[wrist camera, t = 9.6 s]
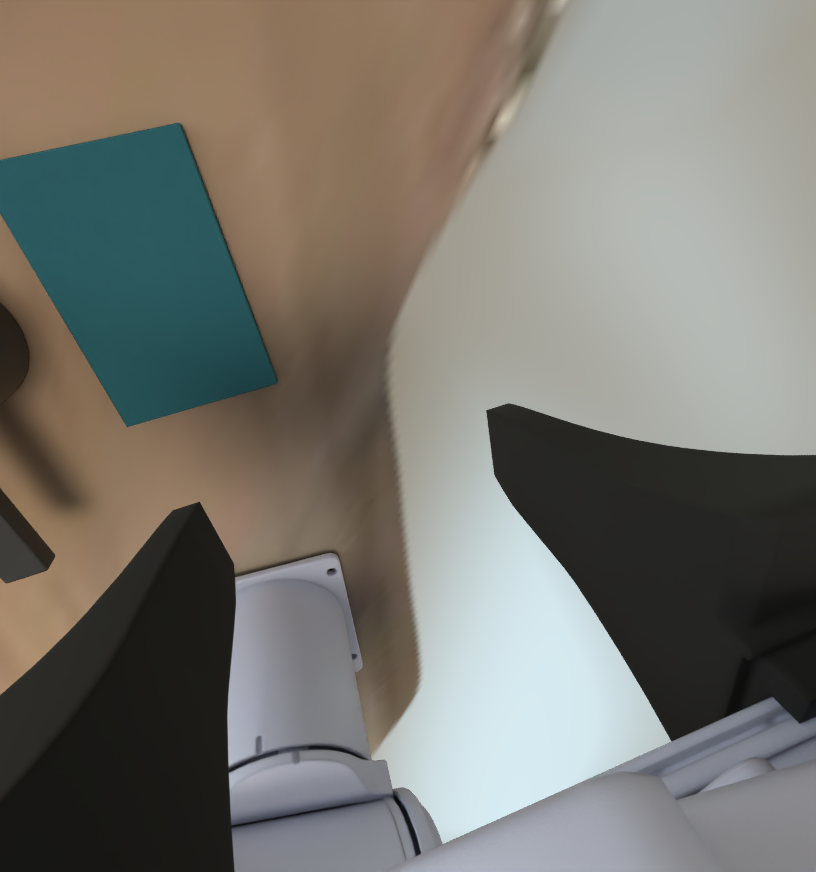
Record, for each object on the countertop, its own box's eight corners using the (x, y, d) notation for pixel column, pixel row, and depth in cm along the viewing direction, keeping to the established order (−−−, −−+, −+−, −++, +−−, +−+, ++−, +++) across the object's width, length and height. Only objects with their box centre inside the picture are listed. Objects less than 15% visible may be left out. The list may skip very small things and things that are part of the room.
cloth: (129, 423, 19) (126, 427, 18) (-22, 166, 14) (-30, 165, 14) (277, 380, 19) (277, 383, 19) (181, 124, 15) (179, 122, 14)
